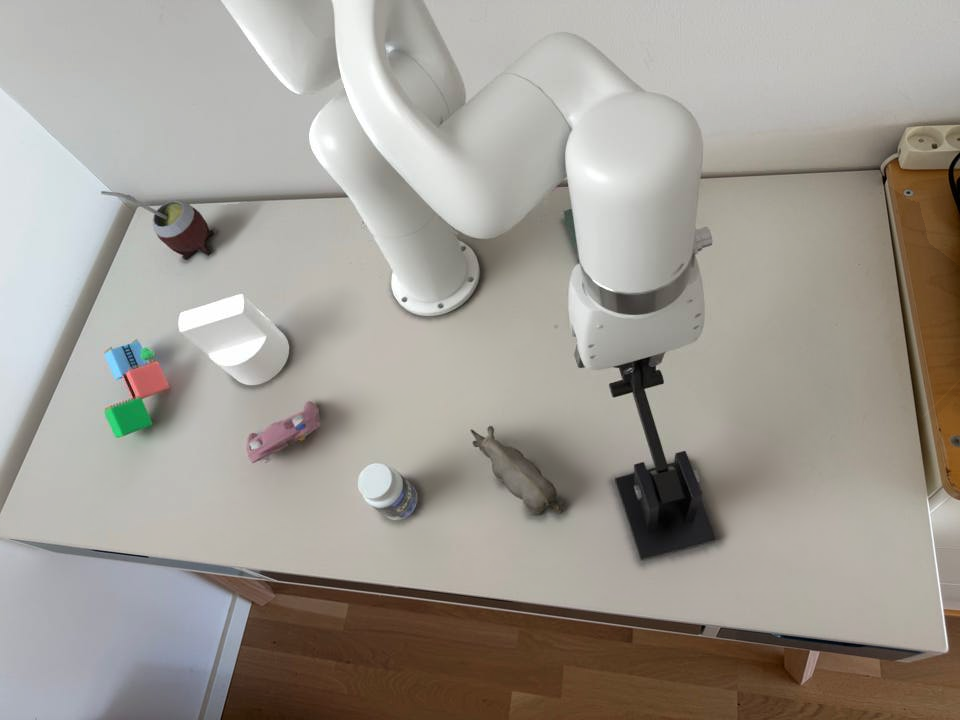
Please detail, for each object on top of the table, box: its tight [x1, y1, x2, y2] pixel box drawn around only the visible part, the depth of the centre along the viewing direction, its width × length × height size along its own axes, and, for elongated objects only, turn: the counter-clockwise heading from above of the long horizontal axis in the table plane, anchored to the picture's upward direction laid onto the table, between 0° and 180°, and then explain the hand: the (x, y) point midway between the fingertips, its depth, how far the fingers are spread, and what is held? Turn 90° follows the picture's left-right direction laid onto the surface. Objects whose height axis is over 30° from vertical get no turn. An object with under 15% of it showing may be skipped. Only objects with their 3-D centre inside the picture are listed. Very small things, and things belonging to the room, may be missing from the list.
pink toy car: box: [245, 400, 320, 464], centre depth 82 cm, size 10×5×7 cm, turn 118°
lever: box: [608, 369, 685, 504], centre depth 62 cm, size 12×5×2 cm, turn 12°
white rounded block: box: [177, 293, 290, 386], centre depth 87 cm, size 9×9×12 cm
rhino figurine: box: [470, 425, 564, 517], centre depth 73 cm, size 4×14×6 cm, turn 42°
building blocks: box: [103, 338, 170, 439], centre depth 90 cm, size 8×8×12 cm
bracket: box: [614, 450, 717, 562], centre depth 66 cm, size 9×8×12 cm
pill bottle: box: [357, 462, 418, 521], centre depth 74 cm, size 5×5×8 cm
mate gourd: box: [100, 190, 215, 261], centre depth 98 cm, size 8×8×15 cm
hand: (637, 376), depth 61 cm, fingers closed
